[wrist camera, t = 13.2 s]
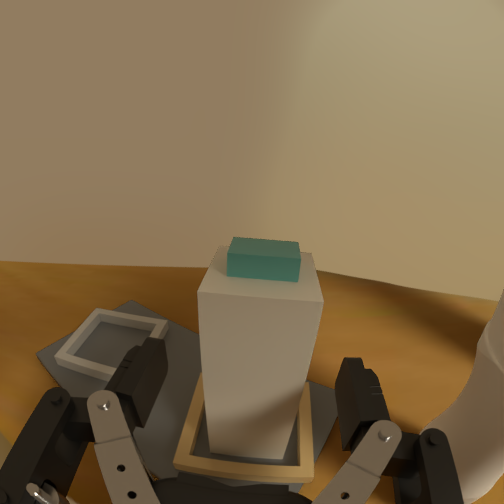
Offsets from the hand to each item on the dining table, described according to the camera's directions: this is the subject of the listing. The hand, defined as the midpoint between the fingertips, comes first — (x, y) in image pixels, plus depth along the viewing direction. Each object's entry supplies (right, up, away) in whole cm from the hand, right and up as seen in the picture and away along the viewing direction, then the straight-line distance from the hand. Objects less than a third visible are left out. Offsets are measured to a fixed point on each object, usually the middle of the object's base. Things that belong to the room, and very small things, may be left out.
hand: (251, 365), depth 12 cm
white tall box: (0, -7, +5) cm, 8 cm away
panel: (-6, -6, +8) cm, 12 cm away
